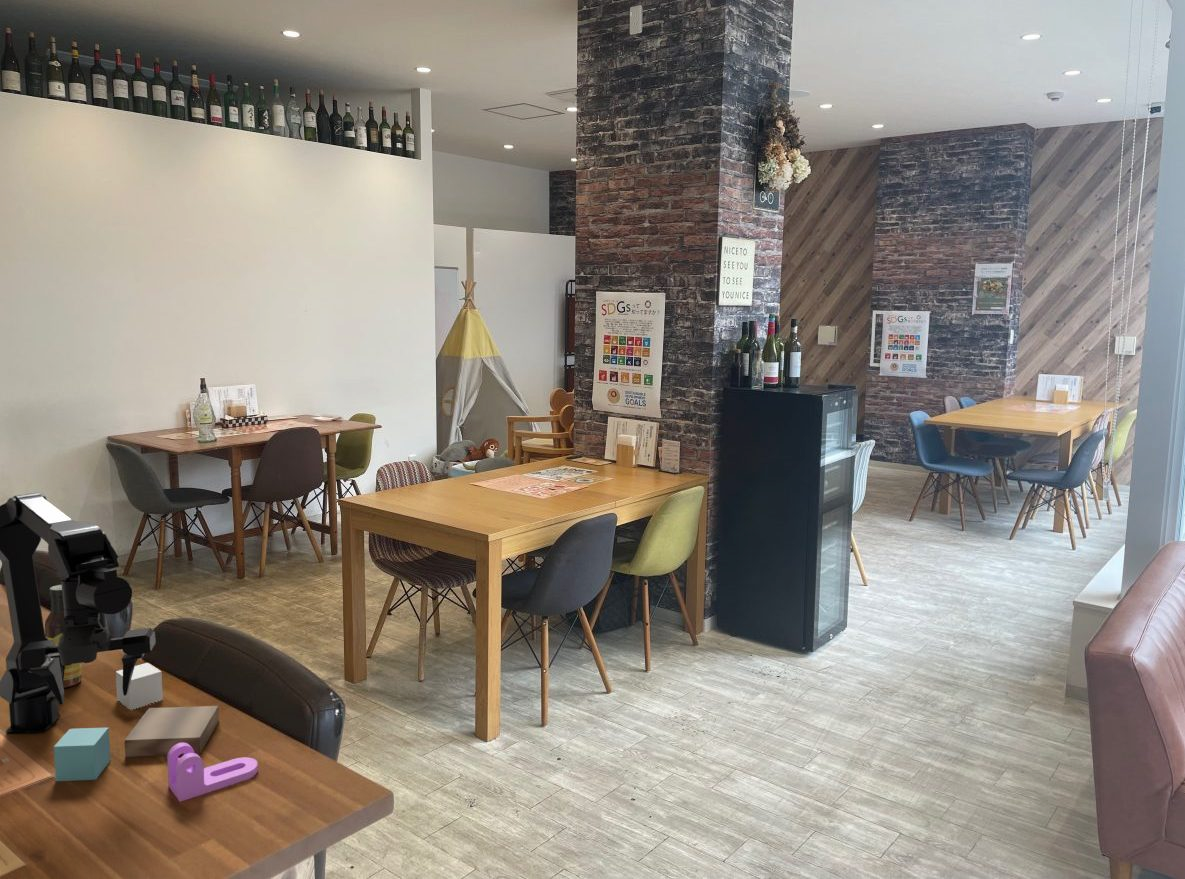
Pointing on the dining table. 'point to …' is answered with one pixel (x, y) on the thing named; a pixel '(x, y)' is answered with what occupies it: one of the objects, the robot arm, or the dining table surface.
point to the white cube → (140, 686)
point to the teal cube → (82, 754)
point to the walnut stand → (171, 730)
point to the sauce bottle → (60, 634)
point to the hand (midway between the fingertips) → (94, 699)
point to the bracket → (203, 772)
